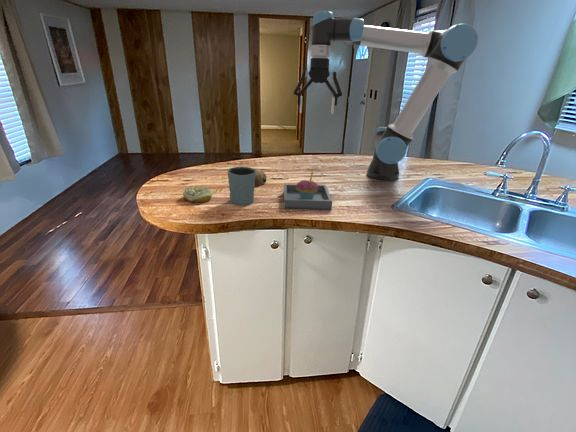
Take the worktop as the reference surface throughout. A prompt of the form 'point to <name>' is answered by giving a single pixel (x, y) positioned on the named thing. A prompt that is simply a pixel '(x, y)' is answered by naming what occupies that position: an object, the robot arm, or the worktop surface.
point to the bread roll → (260, 177)
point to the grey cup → (241, 185)
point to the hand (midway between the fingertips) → (316, 113)
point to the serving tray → (318, 203)
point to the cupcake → (307, 188)
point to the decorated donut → (197, 194)
